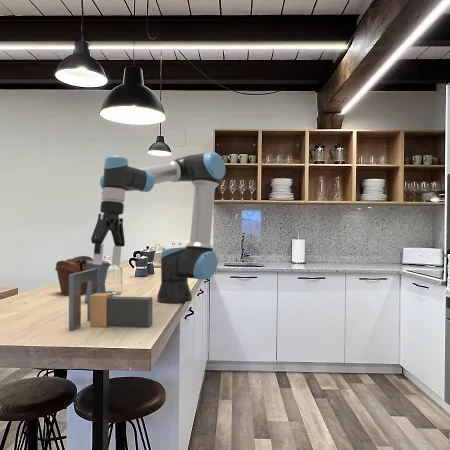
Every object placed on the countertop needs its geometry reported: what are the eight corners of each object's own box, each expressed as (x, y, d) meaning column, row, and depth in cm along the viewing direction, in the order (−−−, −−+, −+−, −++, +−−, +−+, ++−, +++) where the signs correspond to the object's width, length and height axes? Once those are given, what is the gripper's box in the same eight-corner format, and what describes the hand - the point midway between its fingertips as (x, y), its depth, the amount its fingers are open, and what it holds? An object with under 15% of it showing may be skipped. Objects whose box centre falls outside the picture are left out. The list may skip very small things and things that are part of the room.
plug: (152, 323, 138) (152, 293, 138) (147, 327, 133) (147, 296, 133) (97, 322, 140) (97, 292, 141) (90, 326, 135) (90, 295, 135)
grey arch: (97, 317, 147) (97, 268, 147) (73, 330, 129) (73, 274, 129) (93, 317, 147) (93, 268, 147) (68, 330, 129) (68, 274, 129)
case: (55, 297, 188) (56, 258, 189) (54, 291, 207) (55, 255, 207) (96, 295, 195) (96, 257, 196) (91, 290, 214) (92, 255, 214)
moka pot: (105, 304, 172) (105, 256, 172) (72, 303, 175) (72, 256, 175) (116, 300, 181) (116, 255, 182) (84, 299, 185) (84, 254, 185)
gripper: (118, 206, 153) (112, 264, 151) (83, 195, 128) (77, 263, 126) (137, 207, 151) (132, 265, 149) (106, 196, 127) (99, 265, 125)
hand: (106, 264), depth 138 cm, fingers open, 13 cm apart
